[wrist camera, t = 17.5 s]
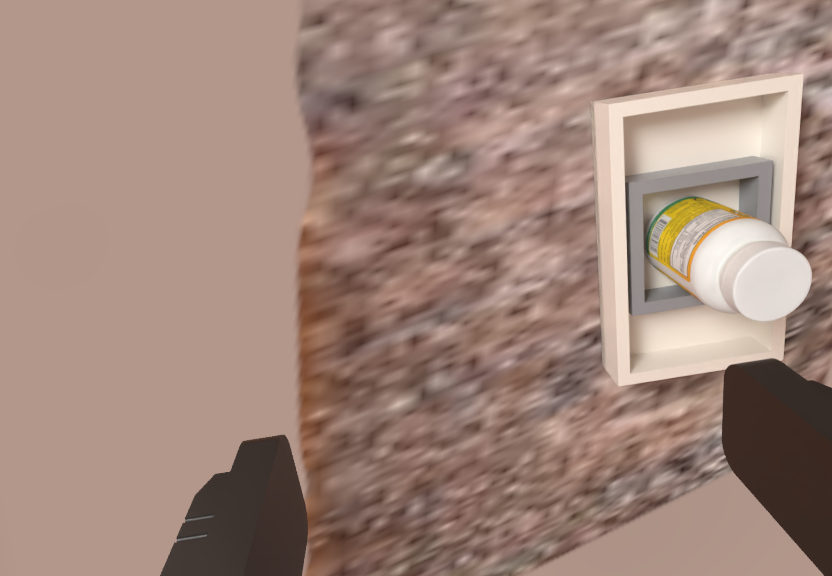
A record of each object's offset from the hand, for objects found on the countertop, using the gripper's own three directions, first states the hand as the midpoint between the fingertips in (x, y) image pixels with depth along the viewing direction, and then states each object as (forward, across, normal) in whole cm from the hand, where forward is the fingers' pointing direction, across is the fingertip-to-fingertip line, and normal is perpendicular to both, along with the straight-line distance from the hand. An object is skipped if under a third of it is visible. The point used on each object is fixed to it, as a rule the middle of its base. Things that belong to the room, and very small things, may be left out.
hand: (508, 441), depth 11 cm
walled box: (+28, -16, +6) cm, 33 cm away
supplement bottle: (+28, -16, +6) cm, 33 cm away
